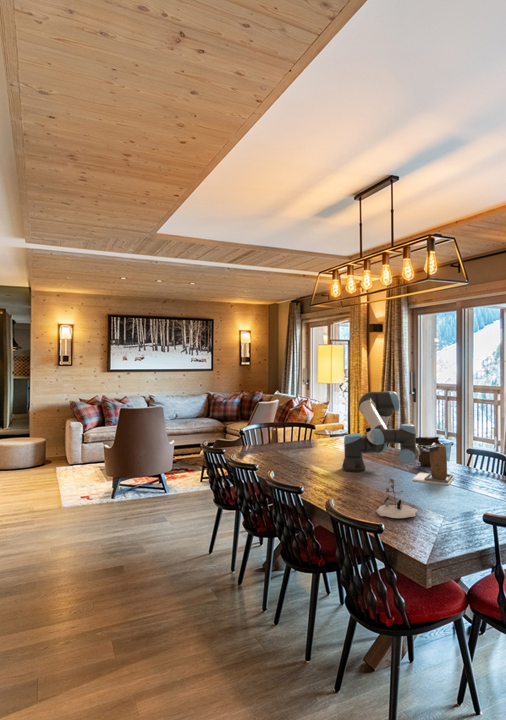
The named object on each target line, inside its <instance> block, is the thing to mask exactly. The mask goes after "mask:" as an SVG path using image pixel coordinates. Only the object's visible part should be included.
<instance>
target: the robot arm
mask: <svg viewBox="0 0 506 720" xmlns="http://www.w3.org/2000/svg"><path fill="white" fill-rule="evenodd" d="M399 399H400V398H399V396H398V394H397V392H395V391H391V390H388V391H368V392H366V393H364V394H363V395H362V396H361V397H360V398H359V400H358V404H357V405H358V407H357V408H358V410H359V412H360V413H361V414H362V415H363V416H364V418H365V420H366V421H367V424H368V426H369V427H370V431H368V432H367V433H366V435H363V434H362V433H360V432H357V433H356V432H354V433H348V434H346V435H344V438H343V446H344V447H343V449H344V451H343V452H344V458H343V461H342V464H341V469H342V470H343V469H344V470H347V471H346V472H349V471H353V472H352V473H360V472H361V471H362V472H365V471H366V467H367V466H366V465H365V461H364V458H363V454H382V453H385V451H386V450H387V447H388V445H389V444H390V445H391V444H399V445H400V446H399V447H400V451H399V454H398V459H399V461H400V462H401V463H402V464H405V465H409V464H412V463H414V462H415V460H416V459H419V456H420V455H421V453H422V452H425V451H426V453H429V452H434V451H438V446H436V445H435V443H433V444H432V445H431V446H423V445H422V446H419V445H418V443H417V434H416V433H417V431H416V426H415V425H414V424H411V423H402V424H400V425H399V428H388V427H387V426H388V422H389V419H390V417H392V416H393V414H394V412H397V411H399V410H400V400H399ZM344 470H343V471H344Z"/></svg>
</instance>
